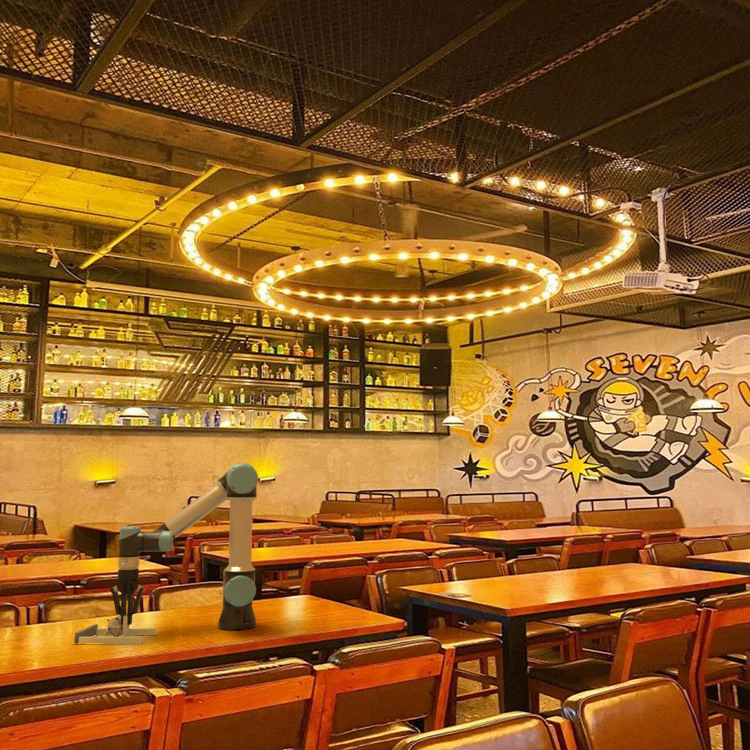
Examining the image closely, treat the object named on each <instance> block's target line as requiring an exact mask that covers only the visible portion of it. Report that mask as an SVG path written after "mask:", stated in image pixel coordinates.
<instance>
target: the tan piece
mask: <svg viewBox="0 0 750 750" xmlns="http://www.w3.org/2000/svg"><path fill="white" fill-rule="evenodd" d="M98 627H99V625H98V624H97V623H95V624H92V625H89V626H88V627H85V628H83V629H81V630H79V631H76V632H75V633H74V637H73V644H74V643H104V644H142V643H143V644H144V636H120V637H114V636H94V635H111V634H109V633H108V627H107V628H98ZM106 633H108V634H106ZM127 635H157V636H158V628H156V627H155V628H154V627H153V628H152V627H151V628H146V627H145V628H143V627H142V628H141V627H139V628H138V627H137V628H135V627H134V628H132V627H131V628H130V627H129V634H127ZM92 636H93V637H92ZM143 644H142V645H143Z"/></svg>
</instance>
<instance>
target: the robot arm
mask: <svg viewBox="0 0 750 750" xmlns="http://www.w3.org/2000/svg"><path fill="white" fill-rule="evenodd" d="M258 482H259V475H258V472H257V470H256V468H255V467H254V466H253V465H252V464H250V463H247V462H238V463H236V464H234V465H232V466H231V467H230V468H229V470H227V472H226V473H225V474H224V475H222V476H221V477H220V478H219V479H217V480H216V484H215V485H213V486H212V487H211V488H209V489H208V490H206V491H205V492H204V493H203V494H201V495H200V496H199V497H197V498H196V499H195V500H193V501H192V502H190V504H188V505H187V506H185V507H184V508H183V509H181V510H180V511H178V512H177V513H176V514H174V515H173V516H172V517H170V518H169V519H167V520H166V521H165V522H164V523H163V524H161V525H159V527H157V528H155V529H154V530H152V531H142V529H141V527H140V526H133V525H132V526H131V525H129V526H123V527H121V528H120V529H119V538H118V565H117V566H118V567H117V568H119V569H117V581H116V584H115V586H113V587H110V588H109V591H110V593H111V594H112V598H113V604H114V609H115V614H116V615H118V616H120V615H121V625H123V635H127V634H129V628H130V625H132V624H133V615H136V614H138V611H139V608H140V604H141V601H142V596H143V593H144V592H145V591H146V587H145V586H142V585H141V584H140V581H139V579H140V577H139V576H140V569H139V567H140V553H144V552H151V553H152V552H163V553H164V552H170V551H172V550H173V543H174V540H175V539H176V538H177V537H179V536H180V535H182V534H183V533H185V532H186V531H187V530H189V529H190V528H191V527H193V526H194V525H195V524H196V523H198V522H200V520H202V519H203V518H204V517H205V516H207V515H209V513H211V512H213V511H214V510H216V508H218V507H219V506H221V505H222V504H223V503H224V502H226V501H227V500H228V502H229V503H230V504H229V505H230V506H229V545H228V546H229V547H228V565H227V566H226V567H225V568H224V570H223V574H222V578H223V579H222V580H223V581H222V583H223V584H222V607H221V612H220V615H219V618H218V621H217V628H218V629H219V628H220V630H223V629H226V631H237V630H236V629H244V630H248V629H247V628H250V629H253V628H252V627H254V628H255V626H257V619H256V615H255V611H254V607H253V600H254V598H255V596H256V593H257V586H256V568H255V567H254V566H253V565H252V552H253V551H252V547H253V546H252V545H253V542H252V541H253V540H252V538H253V502H254V501H255V500H256V499H257V495H258V493H257V492H258V491H257V489H258V486H257V485H258ZM118 591H119V592H120V595H119V592H118ZM136 591H137V594H136V598H135V601H134V596H135V592H136ZM120 599H121V600H120Z"/></svg>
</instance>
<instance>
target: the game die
mask: <svg viewBox="0 0 750 750" xmlns="http://www.w3.org/2000/svg"><path fill="white" fill-rule="evenodd" d="M106 621H107V623H108V625H107V626H108V627H107V628H108V633H109V634H111V635H112V636H111V637H119V636H120V637H122V636H121V635H123V625H121V615H118V616H116V617H114V618H112V619H106ZM108 633H106V634H108Z"/></svg>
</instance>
